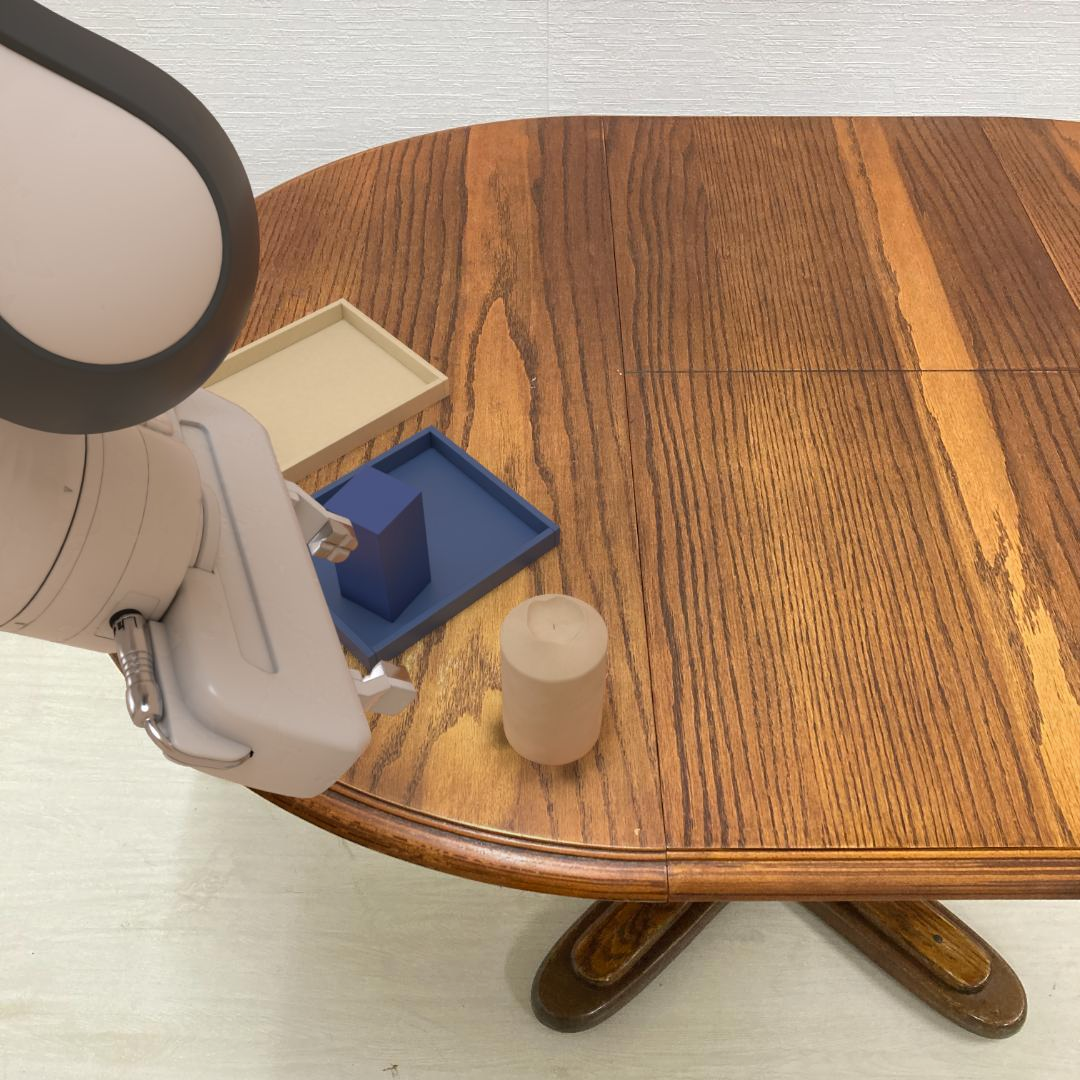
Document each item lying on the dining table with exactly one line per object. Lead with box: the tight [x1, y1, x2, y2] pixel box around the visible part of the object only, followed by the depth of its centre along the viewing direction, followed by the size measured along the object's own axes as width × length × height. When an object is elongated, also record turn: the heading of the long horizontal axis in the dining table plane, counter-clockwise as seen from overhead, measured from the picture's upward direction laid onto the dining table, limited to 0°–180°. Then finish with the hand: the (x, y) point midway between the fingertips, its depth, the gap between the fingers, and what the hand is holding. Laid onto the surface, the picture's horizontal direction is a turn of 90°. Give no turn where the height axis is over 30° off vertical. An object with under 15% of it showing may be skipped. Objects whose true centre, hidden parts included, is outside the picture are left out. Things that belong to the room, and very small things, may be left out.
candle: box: [499, 593, 609, 766], centre depth 59 cm, size 6×6×10 cm
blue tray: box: [307, 424, 561, 673], centre depth 70 cm, size 15×13×2 cm
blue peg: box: [323, 465, 431, 623], centre depth 66 cm, size 4×4×8 cm
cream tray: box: [201, 297, 451, 484], centre depth 80 cm, size 15×13×2 cm
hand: (374, 613), depth 52 cm, fingers open, 8 cm apart
